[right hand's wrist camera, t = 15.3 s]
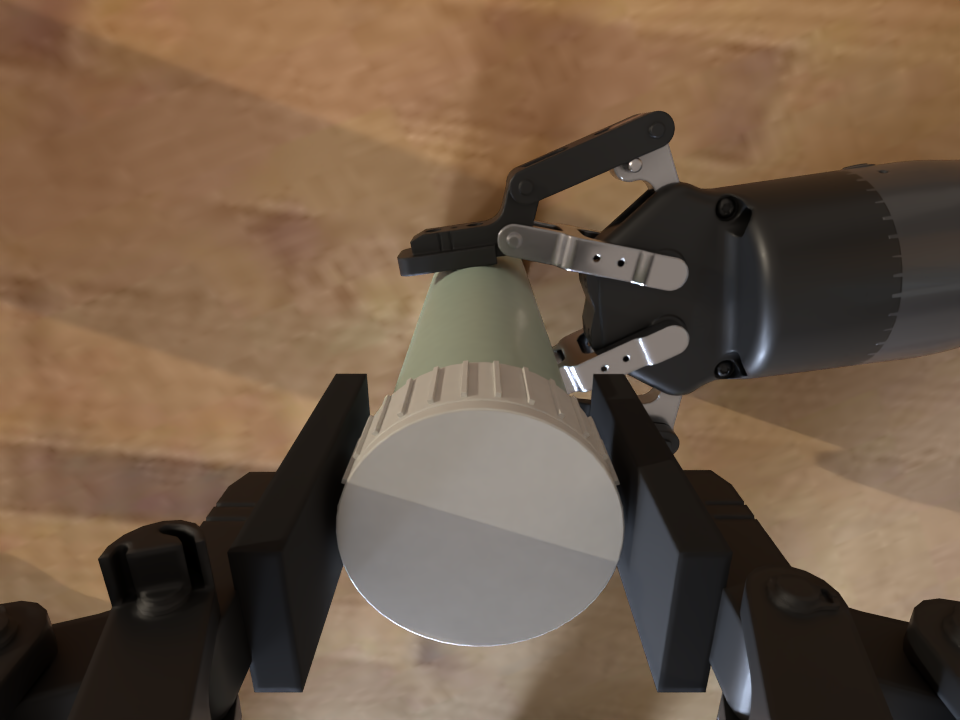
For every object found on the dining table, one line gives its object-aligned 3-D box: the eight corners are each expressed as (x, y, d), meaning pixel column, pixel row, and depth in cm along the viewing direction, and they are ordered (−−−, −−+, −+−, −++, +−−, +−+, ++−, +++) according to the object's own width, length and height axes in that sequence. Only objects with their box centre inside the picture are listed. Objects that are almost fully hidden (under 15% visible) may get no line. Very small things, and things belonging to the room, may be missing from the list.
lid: (620, 550, 13) (645, 625, 11) (394, 590, 14) (379, 669, 11) (584, 332, 11) (607, 375, 9) (323, 387, 12) (289, 439, 10)
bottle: (446, 330, 30) (394, 622, 12) (426, 244, 29) (329, 429, 10) (532, 313, 30) (614, 587, 12) (516, 224, 28) (583, 382, 10)
